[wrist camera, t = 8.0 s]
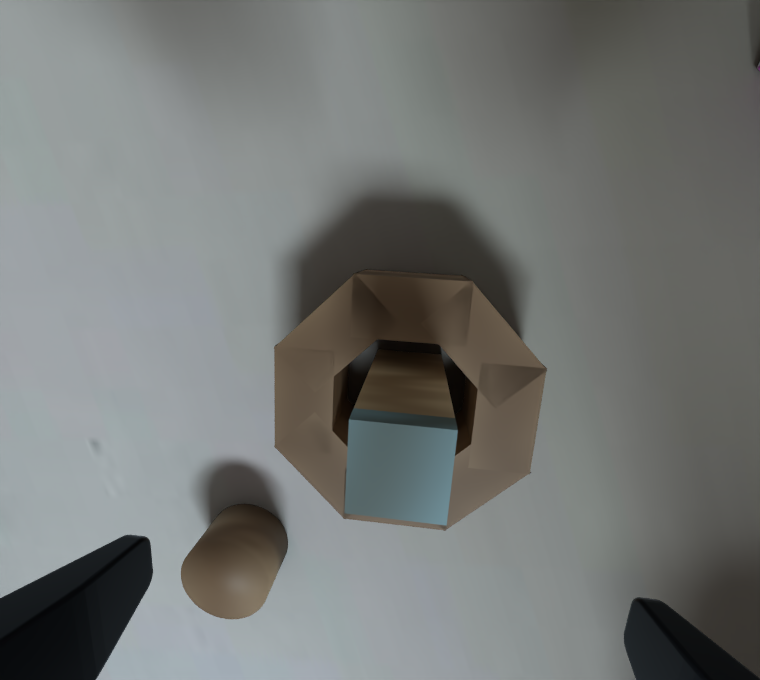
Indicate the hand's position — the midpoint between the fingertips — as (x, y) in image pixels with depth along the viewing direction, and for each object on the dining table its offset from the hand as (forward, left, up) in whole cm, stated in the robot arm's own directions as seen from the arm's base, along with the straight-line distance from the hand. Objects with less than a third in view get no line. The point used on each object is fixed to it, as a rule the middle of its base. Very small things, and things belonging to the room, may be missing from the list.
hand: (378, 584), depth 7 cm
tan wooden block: (0, 0, -12) cm, 12 cm away
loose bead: (+8, +10, -12) cm, 18 cm away
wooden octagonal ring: (0, 0, -12) cm, 12 cm away
